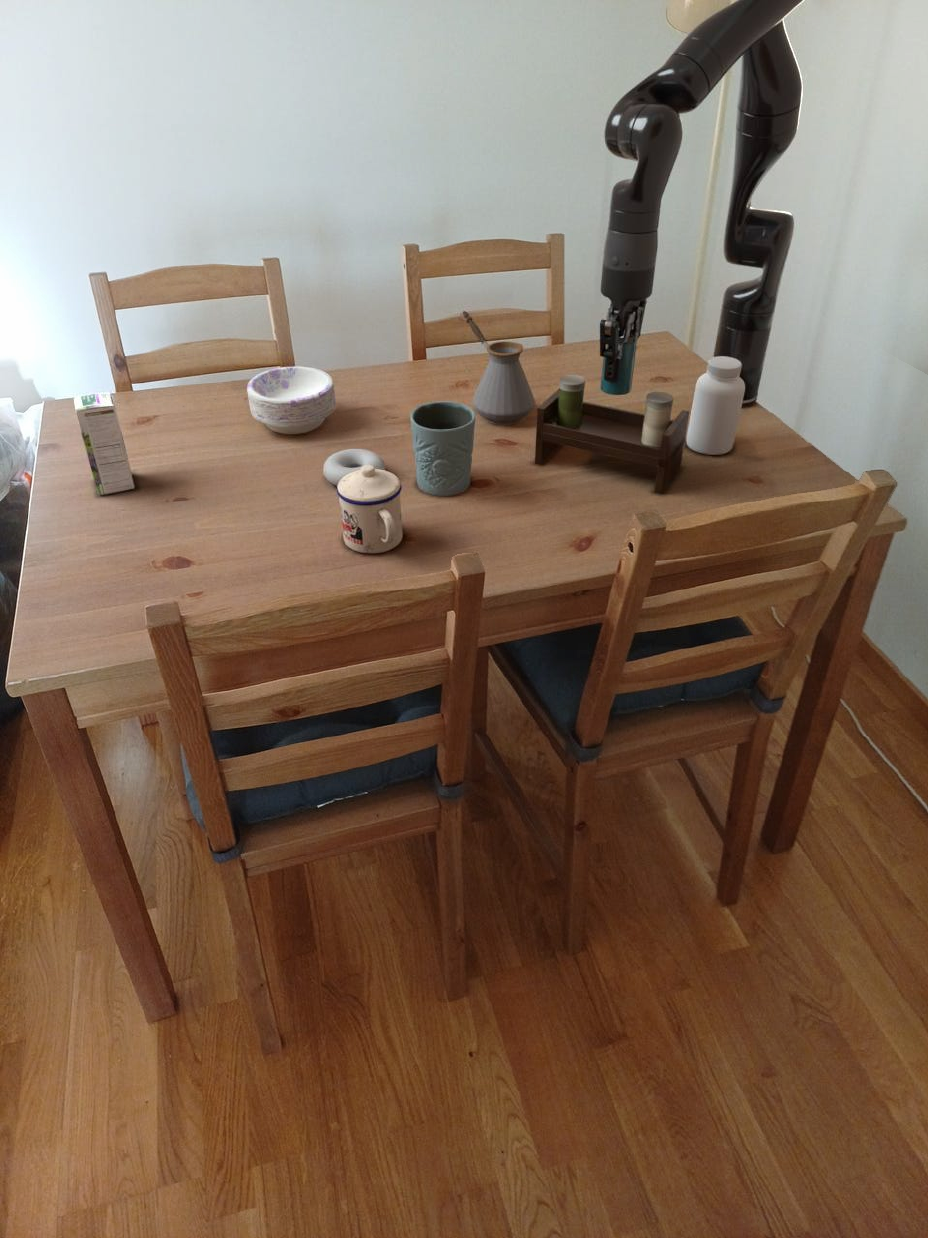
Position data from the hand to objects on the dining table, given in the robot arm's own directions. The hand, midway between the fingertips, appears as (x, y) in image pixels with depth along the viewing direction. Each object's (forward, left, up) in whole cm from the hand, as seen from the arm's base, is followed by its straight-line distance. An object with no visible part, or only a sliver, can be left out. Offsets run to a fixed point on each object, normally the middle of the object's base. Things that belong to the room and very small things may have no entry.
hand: (617, 374), depth 137 cm
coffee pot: (-12, -28, -16) cm, 35 cm away
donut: (+23, -35, -16) cm, 45 cm away
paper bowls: (+11, -56, -16) cm, 59 cm away
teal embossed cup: (+18, -21, -16) cm, 32 cm away
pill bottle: (-15, +13, -16) cm, 25 cm away
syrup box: (+43, -68, -16) cm, 82 cm away
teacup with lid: (+38, -21, -16) cm, 46 cm away
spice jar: (0, 0, -2) cm, 2 cm away
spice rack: (0, 0, -16) cm, 16 cm away
